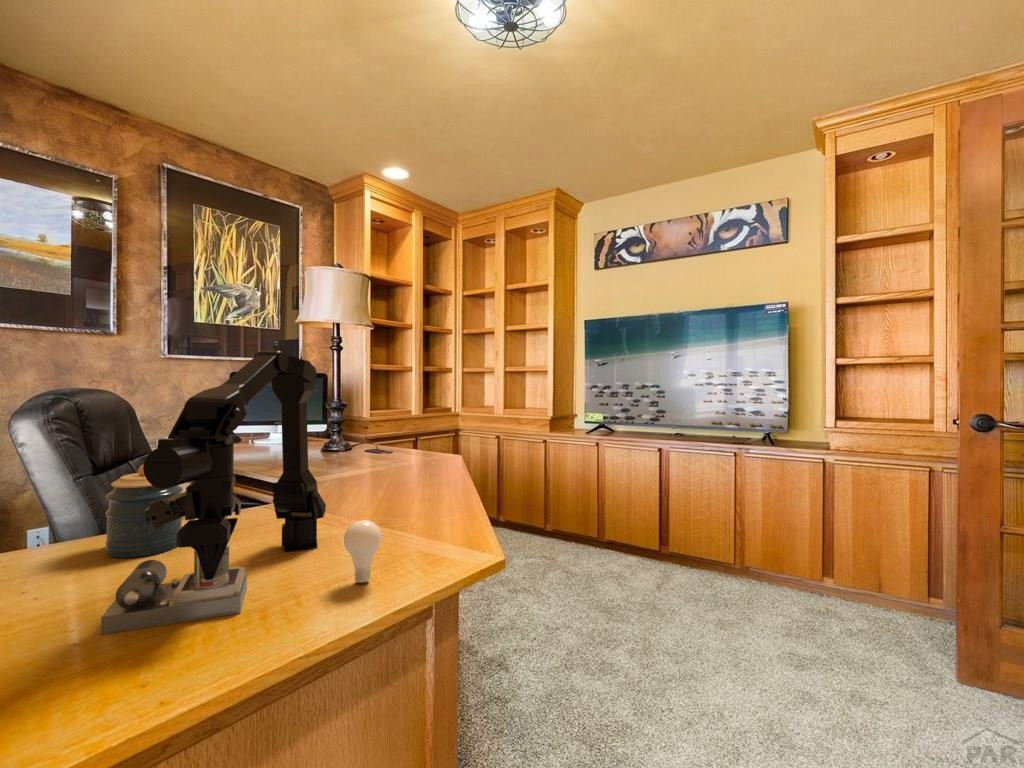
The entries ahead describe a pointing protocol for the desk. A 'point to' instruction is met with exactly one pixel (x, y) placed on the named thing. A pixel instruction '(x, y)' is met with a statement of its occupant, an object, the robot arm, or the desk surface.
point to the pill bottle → (220, 576)
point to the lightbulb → (362, 547)
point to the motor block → (170, 599)
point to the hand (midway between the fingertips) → (212, 573)
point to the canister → (137, 518)
